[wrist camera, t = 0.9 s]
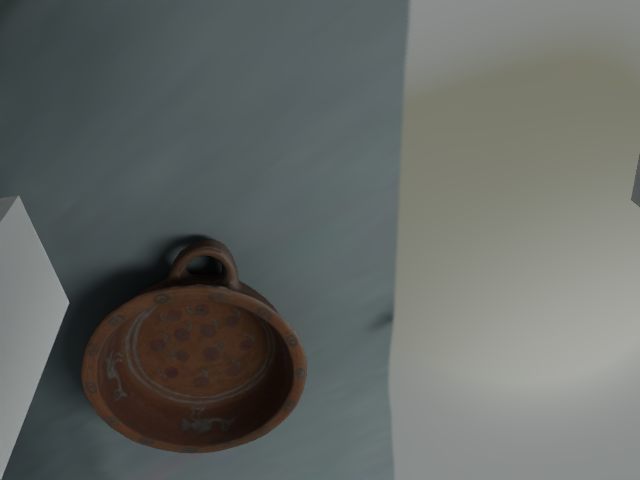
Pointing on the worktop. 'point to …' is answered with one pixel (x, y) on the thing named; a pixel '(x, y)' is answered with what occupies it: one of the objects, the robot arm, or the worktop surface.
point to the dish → (194, 361)
